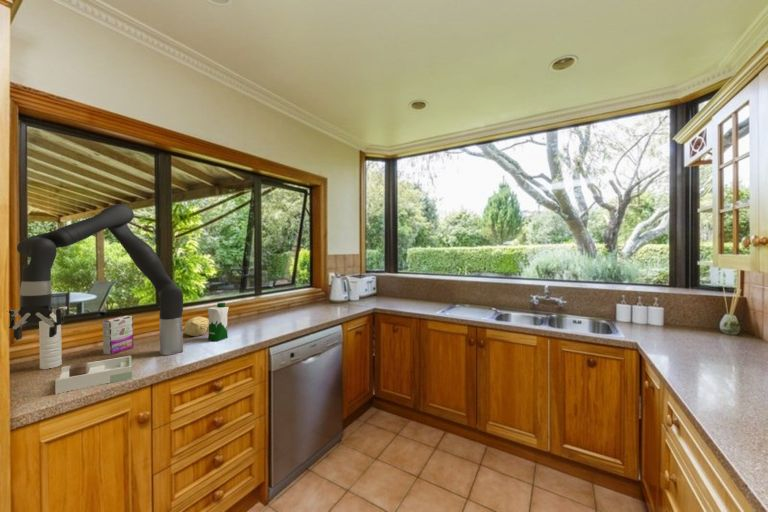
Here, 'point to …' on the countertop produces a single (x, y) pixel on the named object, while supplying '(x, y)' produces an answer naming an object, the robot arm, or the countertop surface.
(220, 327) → the milk carton
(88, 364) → the track
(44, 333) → the water bottle
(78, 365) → the walnut block
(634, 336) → the countertop surface
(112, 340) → the candy bar box
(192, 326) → the sculpture
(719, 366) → the countertop surface
